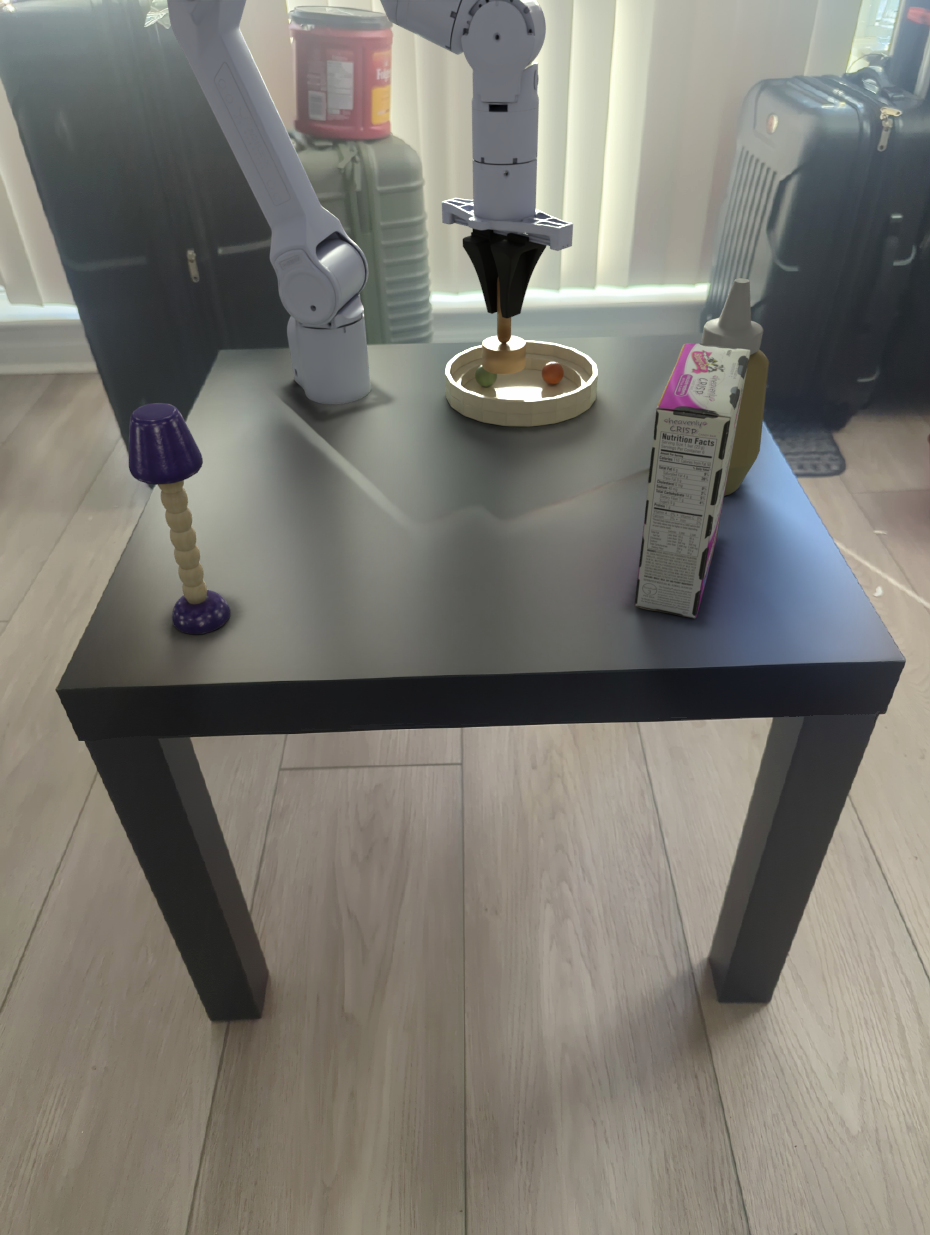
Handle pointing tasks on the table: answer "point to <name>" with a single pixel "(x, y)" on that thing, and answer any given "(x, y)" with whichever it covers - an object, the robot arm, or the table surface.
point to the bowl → (523, 387)
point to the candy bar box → (689, 476)
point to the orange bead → (552, 373)
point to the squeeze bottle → (745, 334)
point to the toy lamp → (176, 507)
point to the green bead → (485, 377)
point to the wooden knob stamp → (503, 347)
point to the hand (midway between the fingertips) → (503, 313)
